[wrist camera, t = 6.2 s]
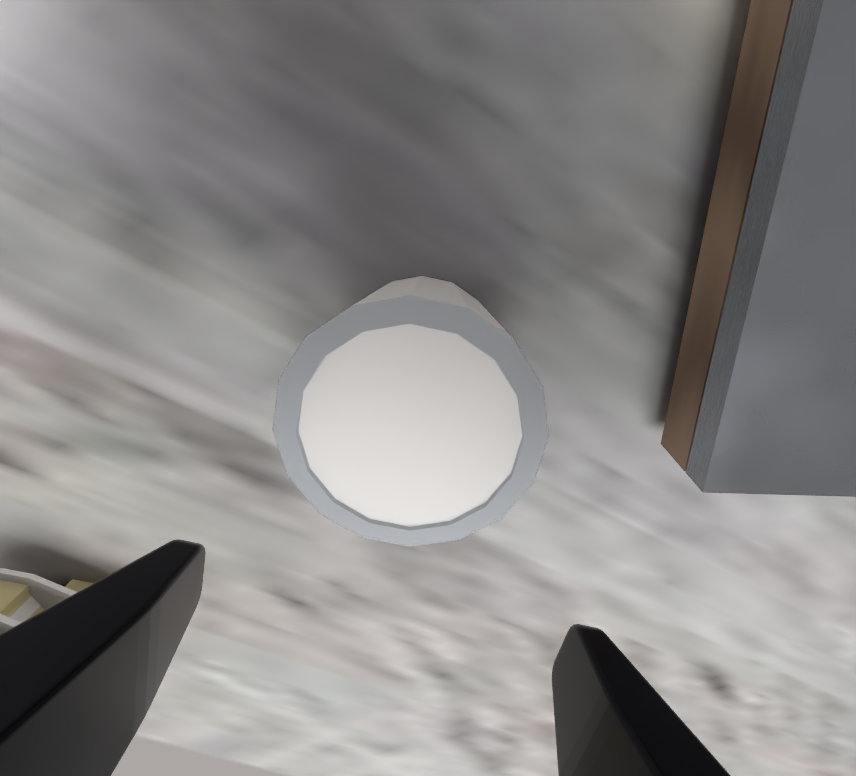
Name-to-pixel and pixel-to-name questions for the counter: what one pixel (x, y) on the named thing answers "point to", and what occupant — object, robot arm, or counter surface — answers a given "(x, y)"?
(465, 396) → the white cup
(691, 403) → the brown wooden board
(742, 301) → the levelling plate
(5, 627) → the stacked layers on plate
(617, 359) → the counter surface
